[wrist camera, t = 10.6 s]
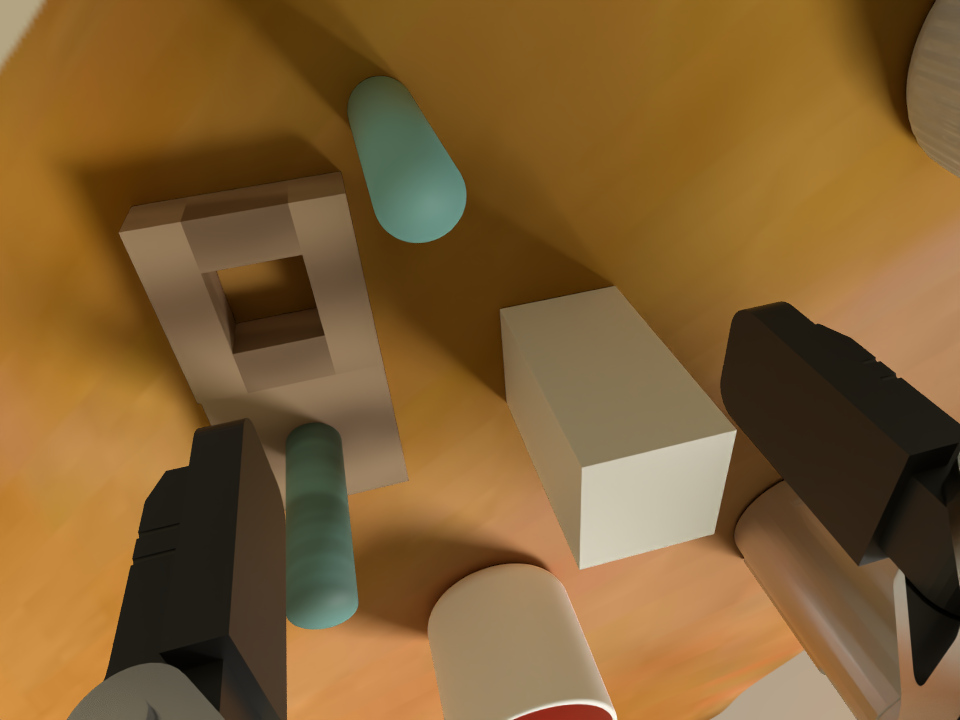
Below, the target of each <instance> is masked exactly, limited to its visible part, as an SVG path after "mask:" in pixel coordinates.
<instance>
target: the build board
mask: <svg viewBox="0 0 960 720" xmlns="http://www.w3.org/2000/svg"><path fill="white" fill-rule="evenodd" d="M119 235H120V237H121V239H122V241H123V243H124V245H125V248H126V250H127V252H128V254H129V256H130V258H131V261H132V263H133V265H134V267H135V269H136V271H137V274H138V276H139V278H140V280H141V282H142V284H143V287H144V289H145V291H146V293H147V295H148V297H149V300H150V302H151V304H152V306H153V308H154V310H155V313H156V315H157V317H158V319H159V321H160V323H161V326H162V328H163V330H164V332H165V334H166V336H167V339H168V341H169V343H170V345H171V347H172V349H173V352H174V354H175V356H176V358H177V360H178V362H179V365H180V367H181V369H182V371H183V373H184V375H185V378H186V380H187V382H188V384H189V386H190V388H191V391H192V393H193V395H194V397H195V399H196V401H197V403H198V404H200V403H205V402H209V401H214V400H219V399H223V398H228V397H233V396H238V395H242V394H247V393H252V392H256V391H261V390H266V389H270V388H275V387H280V386H285V385H289V384H294V383H299V382H303V381H308V380H313V379H317V378H322V377H327V376H332V375H336V374H341V373H346V372H350V371H355V370H360V369H364V368H369V367H374V366H379V365H383V362H382V357H381V352H380V347H379V342H378V338H377V333H376V328H375V324H374V319H373V315H372V310H371V306H370V301H369V297H368V292H367V288H366V283H365V278H364V274H363V269H362V265H361V260H360V256H359V251H358V247H357V242H356V238H355V233H354V229H353V224H352V219H351V215H350V210H349V206H348V201H347V197H346V192H345V188H344V183H343V179H342V174H341V171H340V172H334V173H328V174H322V175H316V176H311V177H305V178H299V179H293V180H287V181H281V182H275V183H269V184H263V185H257V186H251V187H245V188H239V189H233V190H227V191H221V192H215V193H209V194H203V195H197V196H191V197H185V198H180V199H174V200H168V201H162V202H156V203H150V204H144V205H138V206H132V207H131V208H130V210H129V213H128V215H127V217H126V219H125V221H124V223H123V225H122V227H121V229H120V231H119ZM298 255H303V259H304V262H305V266H306V270H307V273H308V277H309V280H310V284H311V287H312V291H313V295H314V298H315V302H316V305H317V308H313V309H308V310H303V311H298V312H293V313H288V314H283V315H278V316H273V317H268V318H263V319H257V320H252V321H247V322H242V323H237V324H236V322H235V320H234V317H233V314H232V312H231V309H230V306H229V304H228V301H227V299H226V296H225V293H224V291H223V288H222V285H221V283H220V280H219V277H218V275H217V272H216V271H217V270H223V269H228V268H233V267H239V266H244V265H250V264H255V263H261V262H266V261H271V260H277V259H282V258H288V257H293V256H298Z"/></svg>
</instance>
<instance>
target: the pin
mask: <svg viewBox="0 0 960 720" xmlns="http://www.w3.org/2000/svg"><path fill="white" fill-rule="evenodd" d="M347 114H348V119H349V123H350V126H351V130H352V134H353V137H354V141H355V144H356V148H357V151H358V155H359V158H360V162H361V166H362V169H363V173H364V176H365V180H366V183H367V187H368V191H369V194H370V198H371V201H372V205H373V208H374V212H375V215H376V217H377V219H378V221H379V223H380V224H381V225H382V227H383V228H384V229H385V230H386V231H387V232H388V233H390V234H391V235H392V236H394V237H396V238H398V239H400V240H403V241H406V242H411V243H424V242H429V241H433V240H436V239H438V238H440V237H442V236H444V235H445V234H447V233H448V232H449V231H450V230H451V229H453V227H454V226H455V225H456V224H457V223H458V221H459V220H460V218H461V216H462V214H463V211H464V209H465V205H466V187H465V183H464V180H463V178H462V176H461V174H460V172H459V170H458V169H457V167H456V166H455V164H454V163H453V161H452V159H451V158H450V156H449V155H448V153H447V151H446V150H445V148H444V147H443V145H442V143H441V142H440V140H439V139H438V137H437V135H436V134H435V132H434V131H433V129H432V127H431V126H430V124H429V123H428V121H427V119H426V118H425V116H424V115H423V113H422V112H421V110H420V108H419V107H418V105H417V104H416V102H415V100H414V99H413V97H412V96H411V94H410V92H409V91H408V90H407V88H406V87H405V86H404V85H403V84H402V83H400V82H399V81H397V80H395V79H393V78H390V77H386V76H374V77H370V78H368V79H366V80H364V81H362V82H361V83H359V84H358V85H357V86H356V87H355V89H354V90H353V92H352V93H351V95H350V98H349V101H348V107H347Z"/></svg>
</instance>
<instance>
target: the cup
mask: <svg viewBox="0 0 960 720" xmlns="http://www.w3.org/2000/svg"><path fill="white" fill-rule="evenodd" d="M428 639H429V644H430V649H431V654H432V659H433V664H434V669H435V674H436V679H437V685H438V690H439V695H440V700H441V705H442V710H443V715H444V720H617V716H616V712H615V710H614V707H613V705H612V702H611V700H610V697H609V695H608V692H607V690H606V688H605V685H604V683H603V680H602V678H601V675H600V673H599V670H598V668H597V665H596V663H595V660H594V658H593V655H592V653H591V651H590V648H589V646H588V643H587V641H586V638H585V636H584V633H583V631H582V628H581V626H580V624H579V621H578V619H577V616H576V614H575V611H574V609H573V606H572V604H571V602H570V599H569V597H568V594H567V592H566V590H565V587H564V586H563V584H562V583H561V582H560V580H559V579H558V578H557V577H556V576H554V575H553V574H552V573H550V572H549V571H547V570H545V569H543V568H540V567H537V566H534V565H529V564H502V565H497V566H492V567H488V568H485V569H482V570H480V571H477V572H475V573H472V574H470V575H468V576H466V577H465V578H463V579H461V580H460V581H458V582H457V583H455V584H454V585H453V586H452V587H450V588H449V589H448V590H447V591H446V592H445V593H444V594H443V595H442V596H441V597H440V599H439V600H438V602H437V603H436V604H435V606H434V608H433V610H432V612H431V615H430V618H429V622H428Z"/></svg>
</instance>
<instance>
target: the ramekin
mask: <svg viewBox="0 0 960 720" xmlns="http://www.w3.org/2000/svg"><path fill="white" fill-rule="evenodd" d="M906 101H907V108H908V118H909V121H910V124H911V129H912V132H913V134H914V135H915V136H916V140H917V142H918V144H919V145H920V147H921V148H922V149H923V150H924V152H925V153H926V154H927V155H928V156H929V157H930V158H931V159H932V160H934V161H935V162H937V163H938V164H939V165H940V166H942V167H943V168H945V169H946V170H948V171H950V172H951V173H953V174H954V175H956V176H958V177H959V178H960V0H936V1H935V3H934V5H933V6H932V8H931V10H930V11H929V13H928V15H927V17H926V19H925V22H924V24H923V26H922V28H921V31H920V33H919V36H918V38H917V41H916V44H915V47H914V50H913V53H912V57H911V61H910V65H909V70H908V77H907V87H906Z"/></svg>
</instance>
